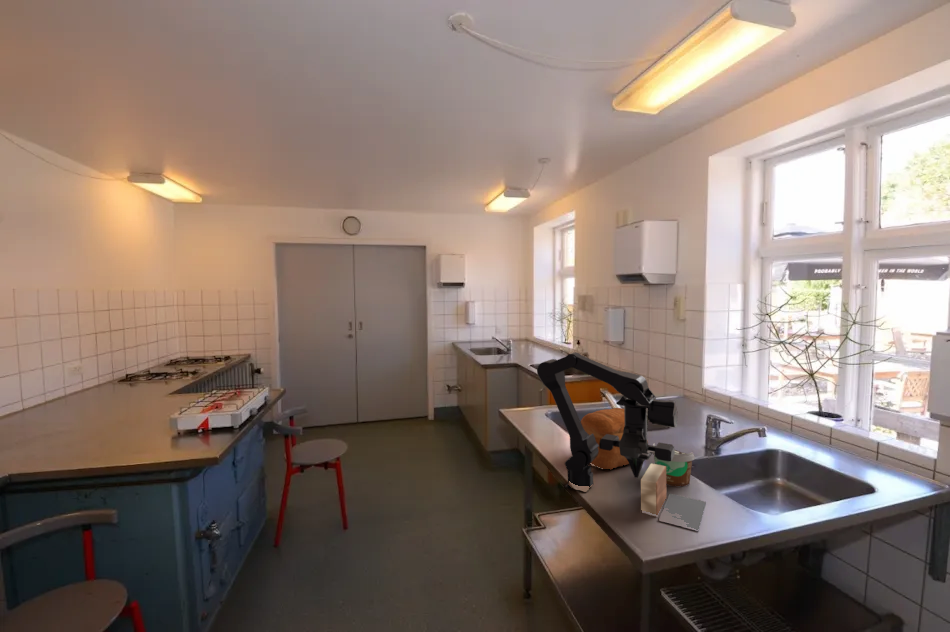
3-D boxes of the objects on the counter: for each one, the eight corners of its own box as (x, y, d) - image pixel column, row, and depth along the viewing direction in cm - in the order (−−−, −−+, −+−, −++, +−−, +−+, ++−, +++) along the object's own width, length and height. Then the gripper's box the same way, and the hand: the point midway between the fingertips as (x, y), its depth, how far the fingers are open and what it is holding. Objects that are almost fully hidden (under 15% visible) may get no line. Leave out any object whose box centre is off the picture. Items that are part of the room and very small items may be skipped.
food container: (644, 480, 128) (644, 448, 127) (652, 473, 132) (652, 442, 132) (687, 492, 119) (687, 458, 119) (694, 485, 123) (694, 452, 123)
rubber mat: (657, 521, 105) (657, 519, 105) (669, 494, 118) (669, 493, 118) (698, 532, 100) (698, 530, 100) (705, 503, 113) (705, 501, 113)
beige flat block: (641, 513, 109) (640, 479, 109) (651, 494, 119) (651, 463, 119) (657, 517, 107) (657, 483, 107) (666, 497, 117) (666, 466, 116)
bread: (570, 456, 148) (569, 410, 147) (615, 445, 157) (615, 401, 156) (606, 475, 132) (605, 423, 131) (654, 461, 141) (653, 412, 140)
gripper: (592, 424, 113) (593, 481, 114) (666, 436, 103) (667, 497, 103) (605, 414, 122) (606, 466, 123) (674, 423, 112) (675, 480, 113)
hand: (636, 477), depth 115 cm, fingers closed
